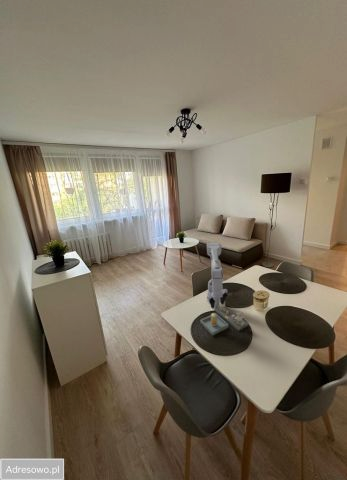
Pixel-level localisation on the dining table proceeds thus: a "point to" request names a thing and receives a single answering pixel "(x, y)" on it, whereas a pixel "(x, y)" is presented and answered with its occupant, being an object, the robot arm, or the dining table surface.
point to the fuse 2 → (239, 317)
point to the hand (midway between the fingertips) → (217, 305)
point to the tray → (211, 329)
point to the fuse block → (230, 317)
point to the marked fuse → (214, 319)
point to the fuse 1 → (222, 306)
